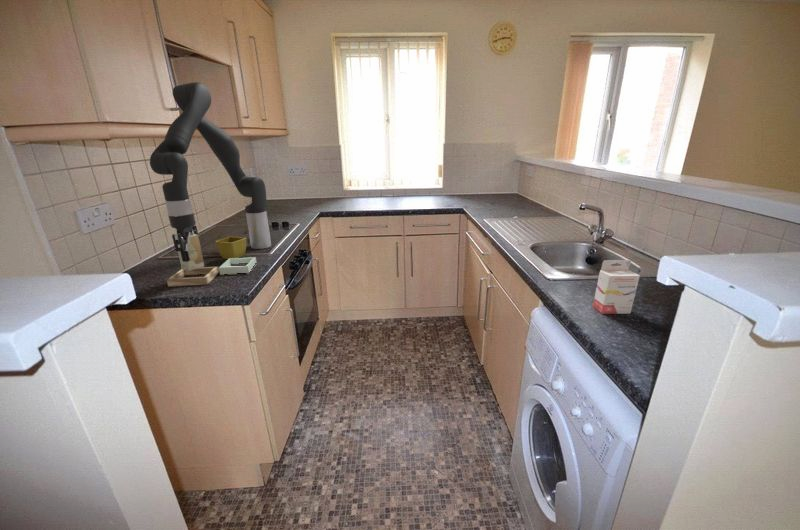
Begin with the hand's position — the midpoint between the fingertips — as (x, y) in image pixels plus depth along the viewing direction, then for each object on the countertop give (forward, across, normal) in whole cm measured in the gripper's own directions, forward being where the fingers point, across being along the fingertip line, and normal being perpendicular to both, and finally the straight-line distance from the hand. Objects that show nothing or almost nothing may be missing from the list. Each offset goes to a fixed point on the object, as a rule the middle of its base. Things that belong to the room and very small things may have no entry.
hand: (191, 257), depth 124 cm
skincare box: (+4, 0, 0) cm, 4 cm away
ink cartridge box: (+9, +49, +132) cm, 141 cm away
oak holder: (+8, 0, 0) cm, 8 cm away
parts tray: (+8, -9, +13) cm, 18 cm away
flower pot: (+9, -23, +7) cm, 25 cm away
